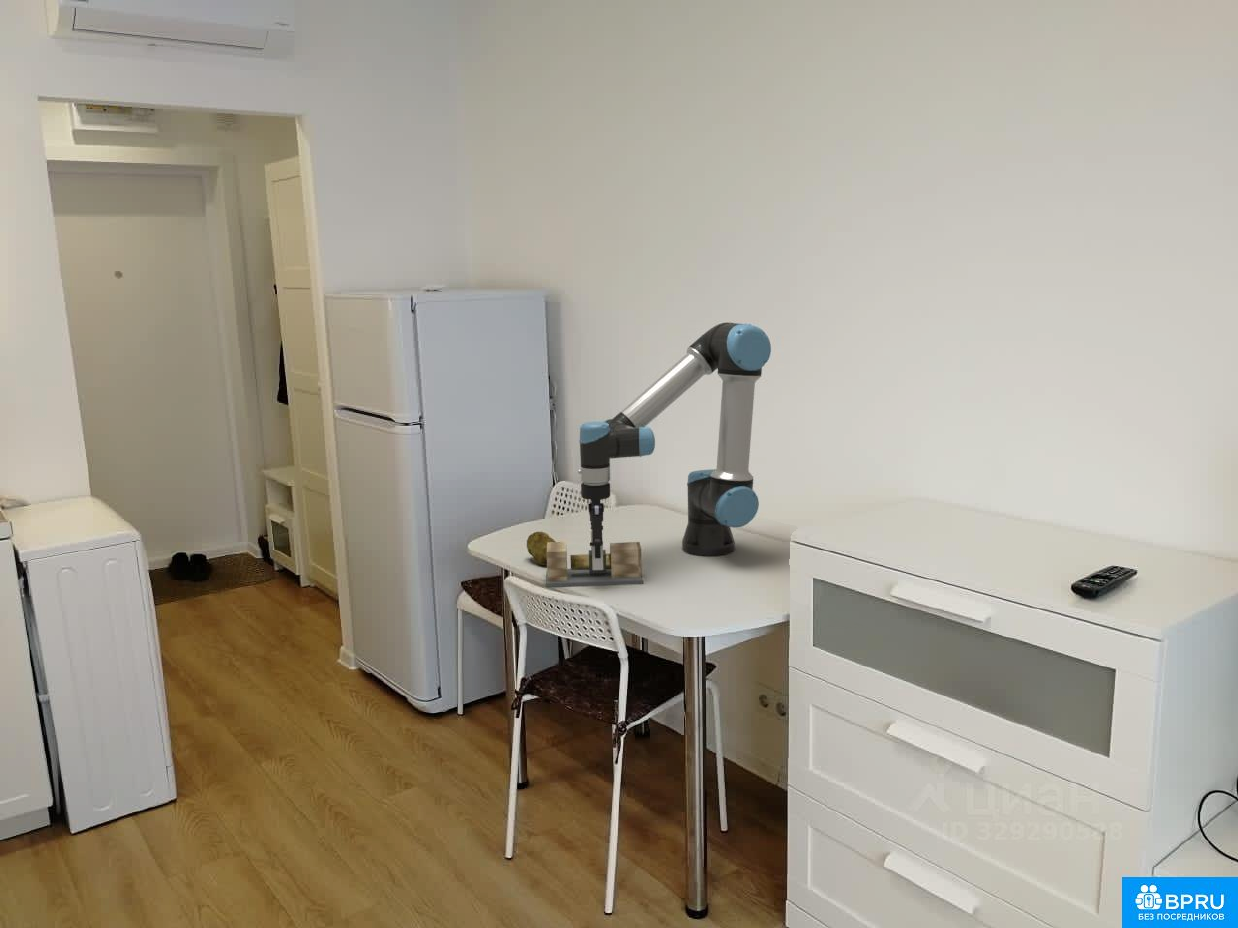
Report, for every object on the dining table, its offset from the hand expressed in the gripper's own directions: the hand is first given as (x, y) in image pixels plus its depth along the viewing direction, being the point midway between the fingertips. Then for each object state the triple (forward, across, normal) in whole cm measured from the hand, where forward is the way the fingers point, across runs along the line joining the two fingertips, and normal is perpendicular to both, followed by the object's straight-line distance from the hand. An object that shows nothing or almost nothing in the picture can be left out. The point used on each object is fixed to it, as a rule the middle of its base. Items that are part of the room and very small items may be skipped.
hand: (597, 562), depth 255 cm
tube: (+2, 0, +2) cm, 3 cm away
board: (+4, 0, -1) cm, 4 cm away
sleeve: (+3, 0, +7) cm, 8 cm away
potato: (+5, -16, -14) cm, 22 cm away
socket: (+4, 0, -10) cm, 11 cm away
